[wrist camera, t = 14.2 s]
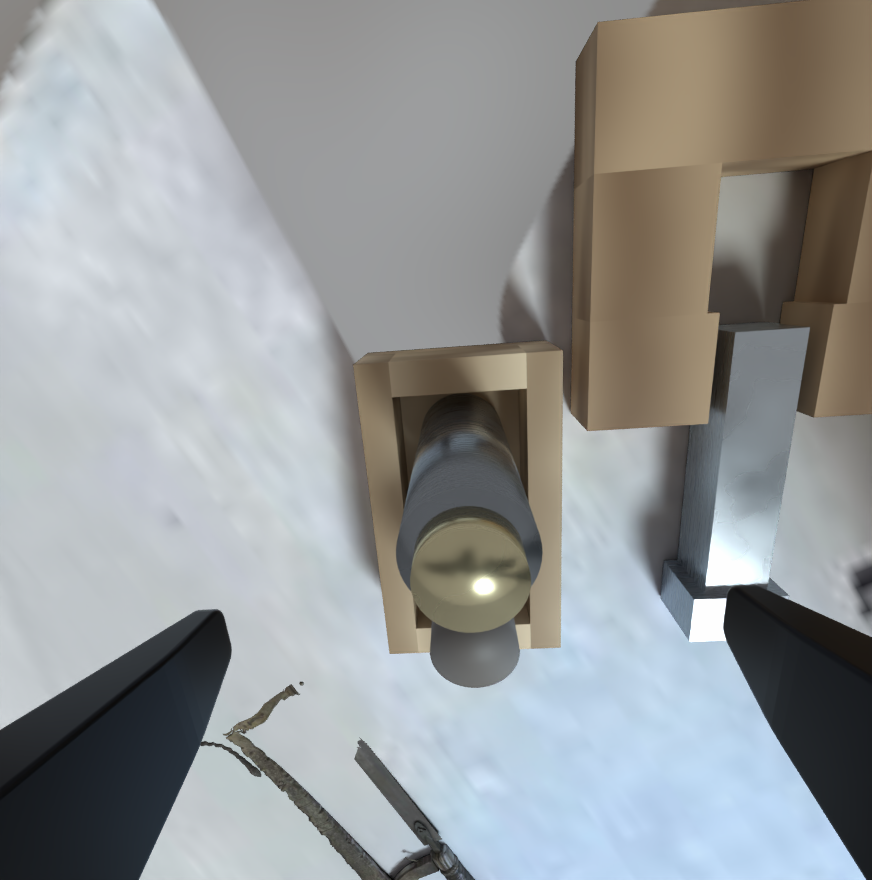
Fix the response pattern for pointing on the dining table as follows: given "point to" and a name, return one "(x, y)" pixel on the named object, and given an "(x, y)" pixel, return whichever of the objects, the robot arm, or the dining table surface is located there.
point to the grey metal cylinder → (467, 521)
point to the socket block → (716, 200)
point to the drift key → (736, 475)
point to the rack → (538, 463)
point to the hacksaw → (329, 826)
